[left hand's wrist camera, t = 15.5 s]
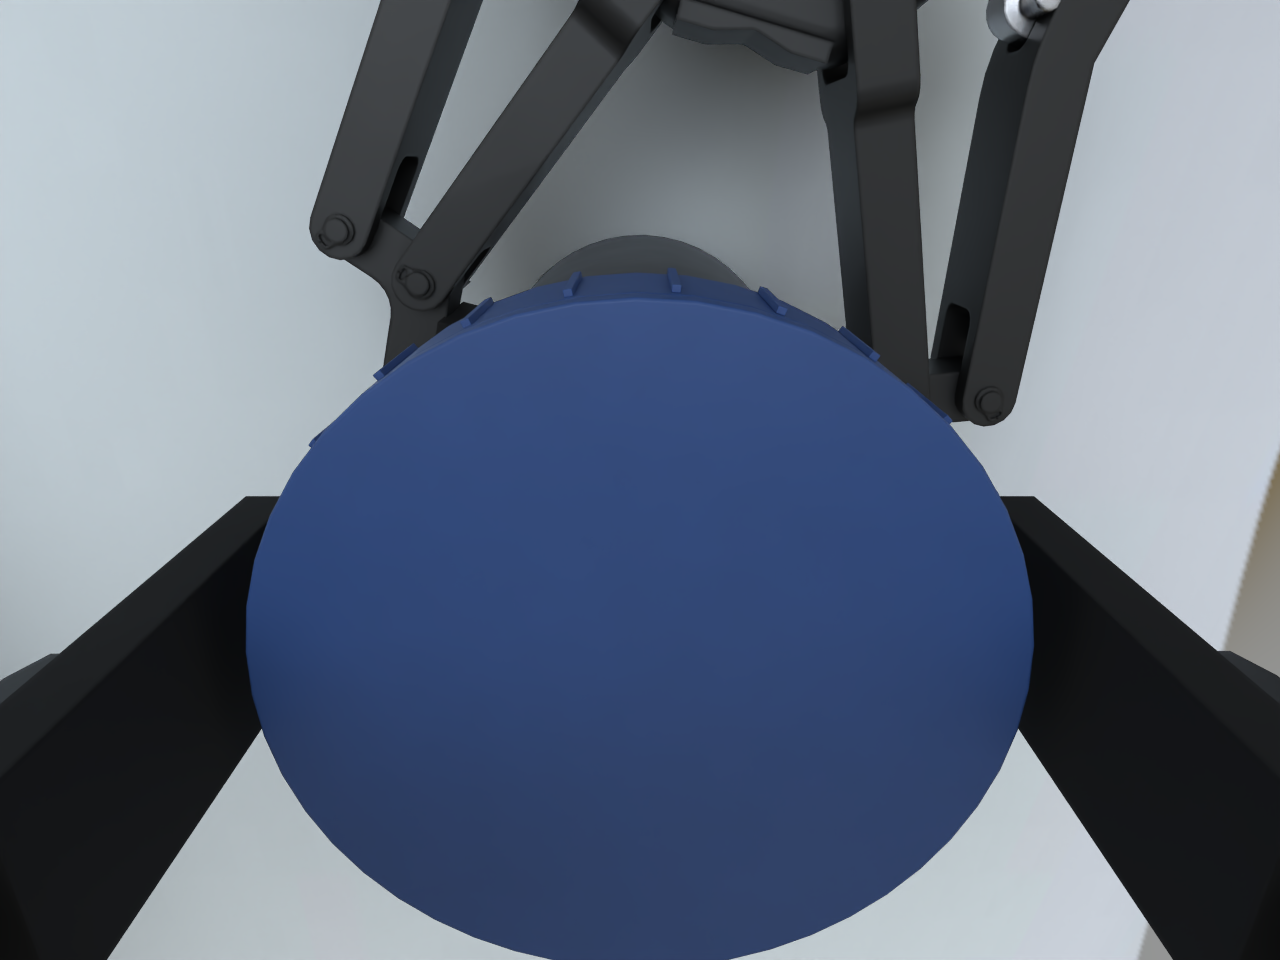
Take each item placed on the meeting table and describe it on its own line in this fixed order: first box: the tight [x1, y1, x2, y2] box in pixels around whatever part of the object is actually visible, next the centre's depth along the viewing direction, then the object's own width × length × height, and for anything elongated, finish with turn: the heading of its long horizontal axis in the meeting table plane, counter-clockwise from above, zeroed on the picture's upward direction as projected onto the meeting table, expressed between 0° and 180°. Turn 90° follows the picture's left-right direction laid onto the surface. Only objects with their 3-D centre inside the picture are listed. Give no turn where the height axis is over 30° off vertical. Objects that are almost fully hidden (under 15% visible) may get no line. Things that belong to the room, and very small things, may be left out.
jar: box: [531, 235, 750, 290], centre depth 18 cm, size 8×8×16 cm
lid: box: [246, 268, 1034, 960], centre depth 11 cm, size 10×10×2 cm
